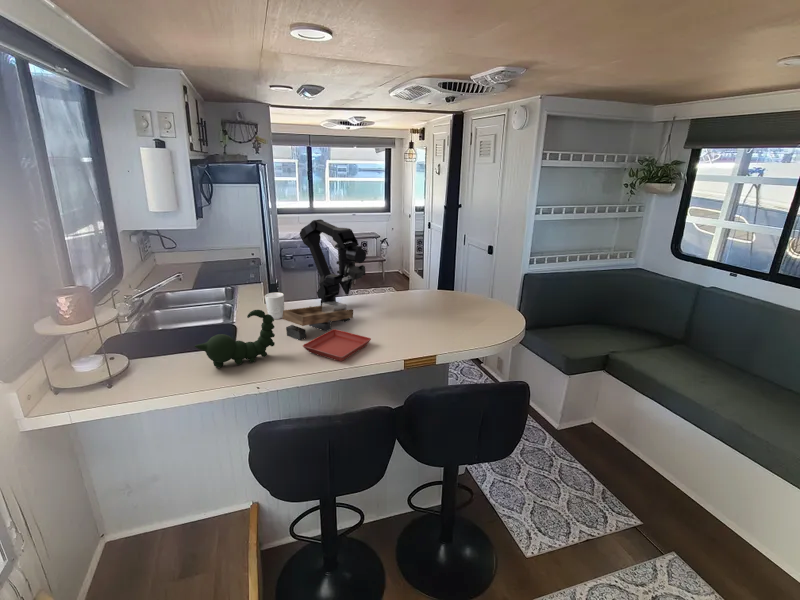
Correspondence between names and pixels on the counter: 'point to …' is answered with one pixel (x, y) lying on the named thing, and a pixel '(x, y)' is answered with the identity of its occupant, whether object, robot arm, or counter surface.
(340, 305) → the steel block
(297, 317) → the wooden tray
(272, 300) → the white cup
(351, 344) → the plant saucer
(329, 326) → the stand
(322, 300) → the robot arm
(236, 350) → the toy figurine
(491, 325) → the counter surface
